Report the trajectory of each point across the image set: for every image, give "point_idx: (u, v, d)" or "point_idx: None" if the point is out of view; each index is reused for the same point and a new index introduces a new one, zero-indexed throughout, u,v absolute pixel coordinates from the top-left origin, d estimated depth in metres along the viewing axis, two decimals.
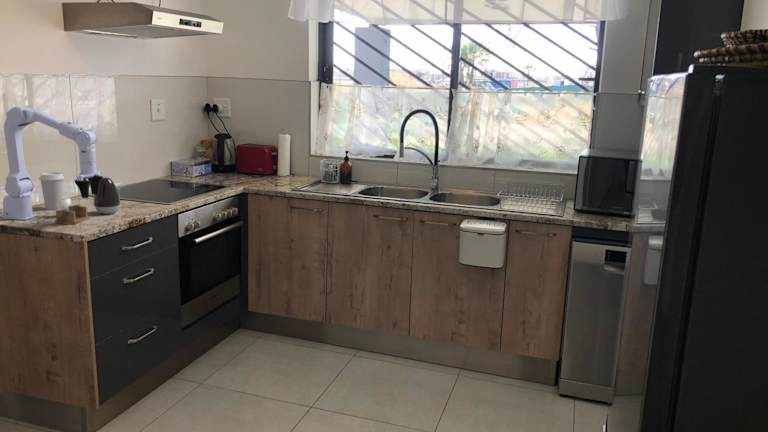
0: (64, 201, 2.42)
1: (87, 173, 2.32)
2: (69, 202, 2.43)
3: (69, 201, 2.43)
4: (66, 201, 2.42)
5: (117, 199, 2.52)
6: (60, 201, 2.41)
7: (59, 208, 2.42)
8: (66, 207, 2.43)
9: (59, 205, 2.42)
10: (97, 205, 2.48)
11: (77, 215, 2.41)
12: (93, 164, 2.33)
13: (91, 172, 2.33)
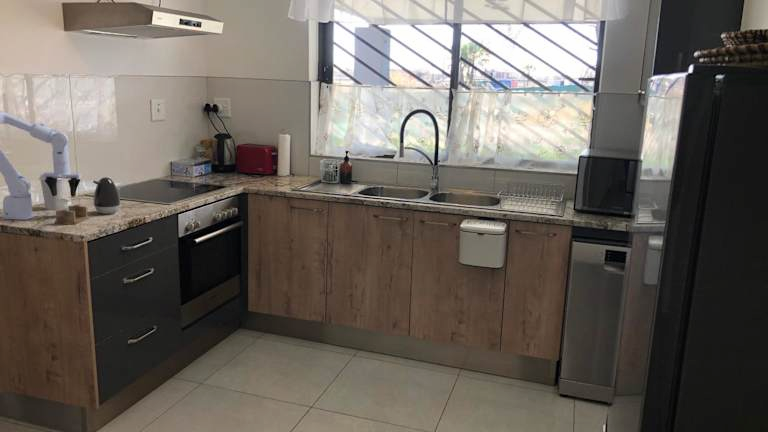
0: (64, 201, 2.42)
1: None
2: (69, 202, 2.43)
3: (69, 201, 2.43)
4: (66, 201, 2.42)
5: (117, 199, 2.52)
6: (60, 201, 2.41)
7: (59, 208, 2.42)
8: (66, 207, 2.43)
9: (59, 205, 2.42)
10: (97, 205, 2.48)
11: (77, 215, 2.41)
12: (55, 165, 2.38)
13: (54, 172, 2.39)
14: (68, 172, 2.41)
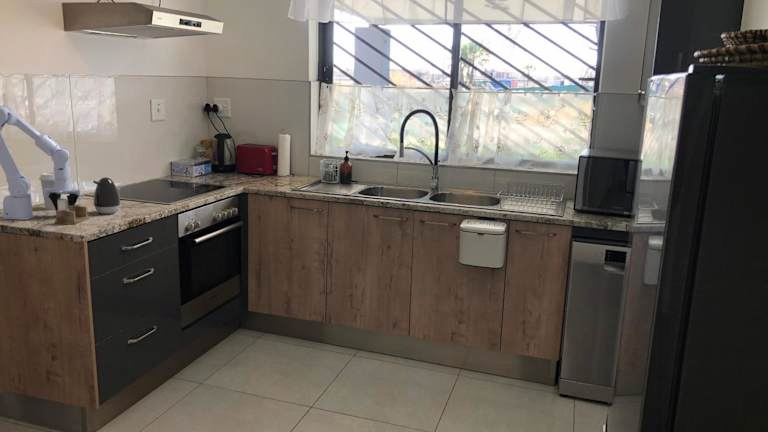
0: (64, 201, 2.42)
1: None
2: None
3: None
4: (66, 201, 2.42)
5: (117, 199, 2.52)
6: (60, 201, 2.41)
7: (59, 208, 2.42)
8: (66, 207, 2.43)
9: (59, 205, 2.42)
10: (97, 205, 2.48)
11: (77, 215, 2.41)
12: (56, 181, 2.40)
13: (55, 188, 2.41)
14: (69, 188, 2.42)
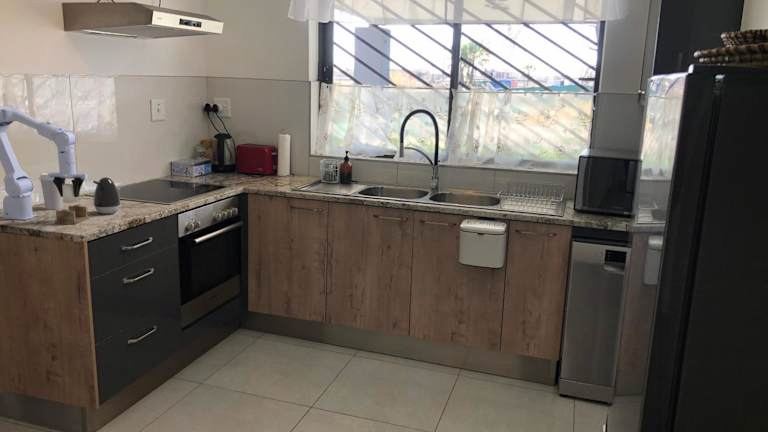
0: (70, 186, 2.35)
1: (59, 173, 2.34)
2: None
3: None
4: (72, 186, 2.35)
5: (117, 199, 2.52)
6: (66, 186, 2.34)
7: (64, 193, 2.35)
8: (72, 192, 2.36)
9: (64, 190, 2.35)
10: (97, 205, 2.48)
11: (77, 215, 2.41)
12: (61, 165, 2.32)
13: (60, 172, 2.33)
14: (74, 172, 2.35)
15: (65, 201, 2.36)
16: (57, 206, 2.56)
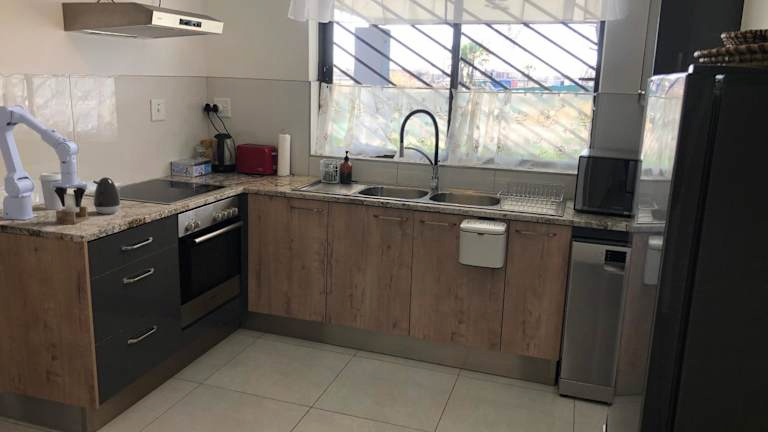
0: (72, 196, 2.34)
1: None
2: None
3: None
4: (74, 196, 2.34)
5: (117, 199, 2.52)
6: (67, 196, 2.34)
7: (66, 203, 2.34)
8: (74, 202, 2.35)
9: (66, 200, 2.34)
10: (97, 205, 2.48)
11: (77, 215, 2.41)
12: (62, 175, 2.31)
13: (61, 182, 2.32)
14: (76, 182, 2.34)
15: None
16: (57, 206, 2.56)
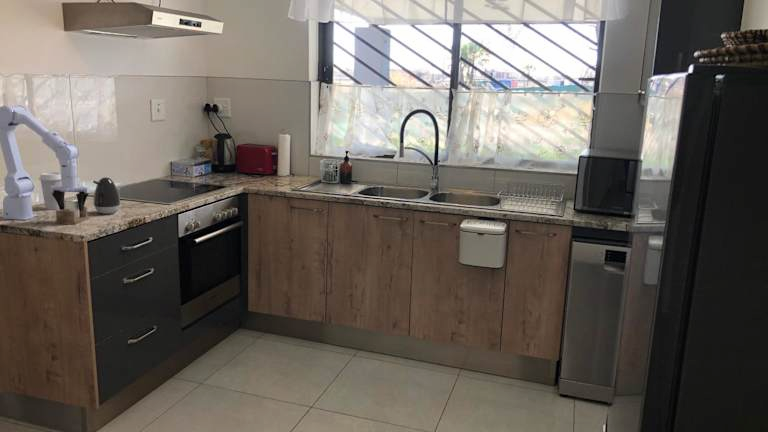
0: (72, 203, 2.34)
1: None
2: (77, 204, 2.36)
3: (77, 203, 2.36)
4: (74, 203, 2.35)
5: (117, 199, 2.52)
6: (68, 203, 2.34)
7: None
8: (74, 209, 2.35)
9: (67, 207, 2.35)
10: (97, 205, 2.48)
11: None
12: (63, 179, 2.32)
13: (62, 186, 2.33)
14: (76, 186, 2.34)
15: None
16: (57, 206, 2.56)
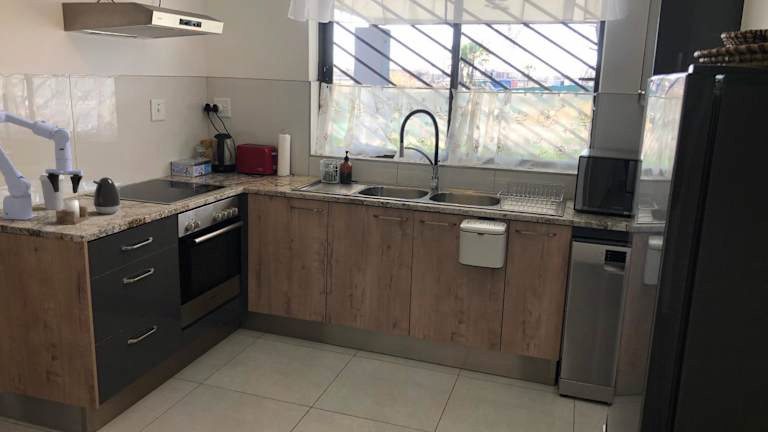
0: (72, 203, 2.34)
1: None
2: (77, 204, 2.36)
3: (77, 203, 2.36)
4: (74, 203, 2.35)
5: (117, 199, 2.52)
6: (68, 203, 2.34)
7: None
8: (74, 209, 2.35)
9: (67, 207, 2.35)
10: (97, 205, 2.48)
11: None
12: (57, 161, 2.38)
13: (56, 169, 2.39)
14: (70, 168, 2.40)
15: None
16: (57, 206, 2.56)
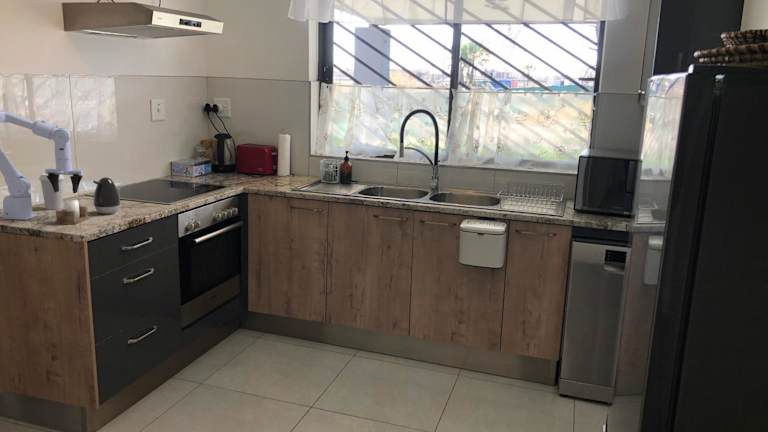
0: (72, 203, 2.34)
1: None
2: (77, 204, 2.36)
3: (77, 203, 2.36)
4: (74, 203, 2.35)
5: (117, 199, 2.52)
6: (68, 203, 2.34)
7: None
8: (74, 209, 2.35)
9: (67, 207, 2.35)
10: (97, 205, 2.48)
11: None
12: (57, 161, 2.38)
13: (56, 168, 2.39)
14: (70, 168, 2.41)
15: None
16: (57, 206, 2.56)
